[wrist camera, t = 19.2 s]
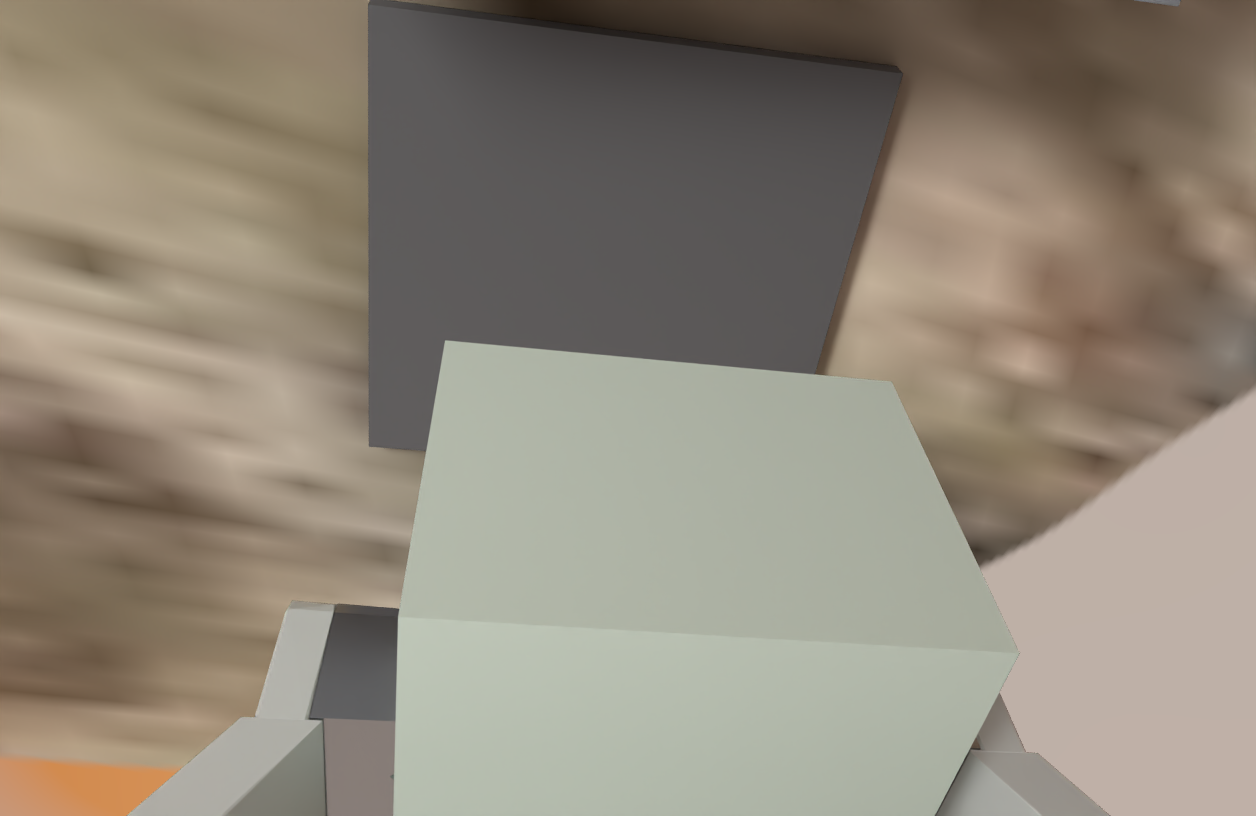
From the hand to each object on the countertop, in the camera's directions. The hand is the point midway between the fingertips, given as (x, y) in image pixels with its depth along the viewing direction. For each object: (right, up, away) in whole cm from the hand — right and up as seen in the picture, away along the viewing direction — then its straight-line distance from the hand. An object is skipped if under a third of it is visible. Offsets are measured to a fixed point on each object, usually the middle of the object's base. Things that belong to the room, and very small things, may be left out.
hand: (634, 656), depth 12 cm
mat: (0, +6, +8) cm, 10 cm away
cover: (0, +1, +1) cm, 1 cm away
